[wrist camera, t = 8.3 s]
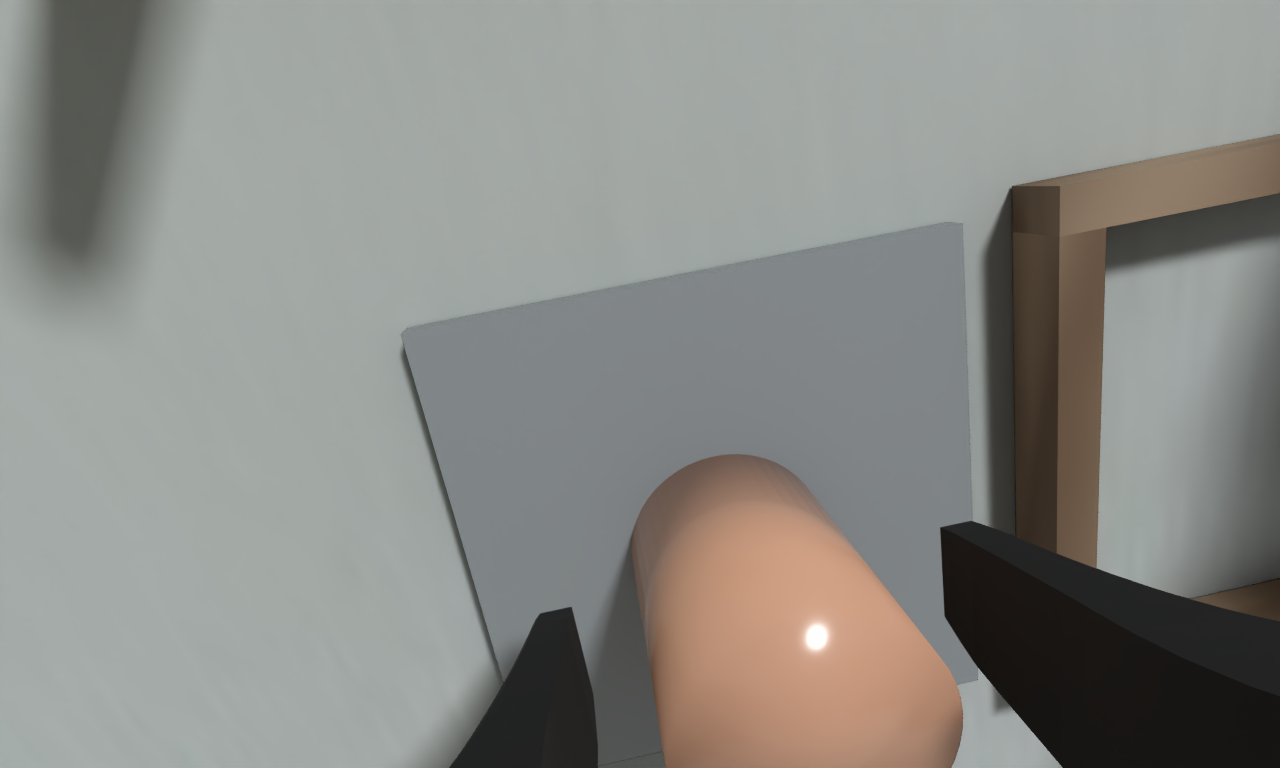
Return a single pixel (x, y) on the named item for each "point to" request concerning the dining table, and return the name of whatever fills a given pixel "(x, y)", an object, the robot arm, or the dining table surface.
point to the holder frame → (1097, 329)
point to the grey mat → (702, 433)
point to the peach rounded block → (778, 632)
